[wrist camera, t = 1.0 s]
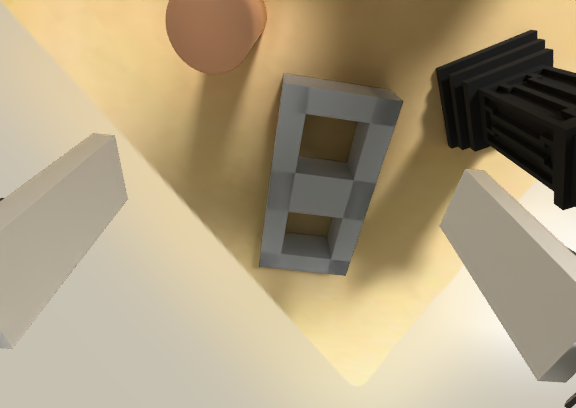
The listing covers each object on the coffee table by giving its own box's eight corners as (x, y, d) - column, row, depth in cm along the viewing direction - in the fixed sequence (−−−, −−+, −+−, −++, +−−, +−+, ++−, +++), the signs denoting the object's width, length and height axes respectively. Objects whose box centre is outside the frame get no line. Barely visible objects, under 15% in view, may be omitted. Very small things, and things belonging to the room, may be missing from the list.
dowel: (219, -18, 26) (163, -31, 14) (269, -9, 26) (256, -15, 14) (217, 38, 28) (167, 67, 16) (264, 45, 28) (248, 79, 16)
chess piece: (448, 145, 33) (615, 297, 16) (435, 68, 29) (639, 163, 12) (532, 115, 32) (813, 249, 15) (531, 29, 28) (913, 79, 11)
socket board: (283, 73, 29) (283, 82, 26) (390, 89, 30) (403, 101, 27) (261, 243, 40) (258, 266, 37) (340, 252, 41) (345, 275, 37)
